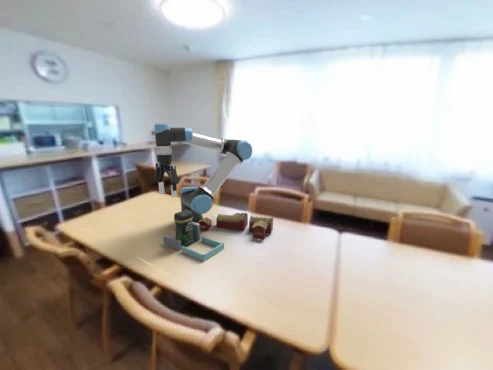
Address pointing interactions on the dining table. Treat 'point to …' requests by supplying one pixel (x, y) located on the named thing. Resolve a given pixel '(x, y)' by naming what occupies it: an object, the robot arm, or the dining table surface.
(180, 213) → the coffee jar
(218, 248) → the teal u-shaped frame
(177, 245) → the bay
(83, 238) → the dining table surface
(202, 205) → the robot arm
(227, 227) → the toy houses
